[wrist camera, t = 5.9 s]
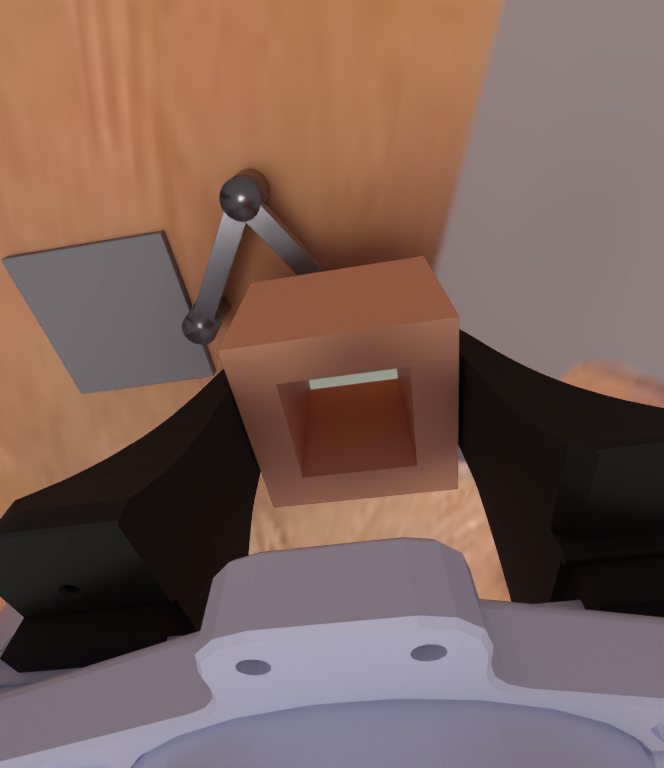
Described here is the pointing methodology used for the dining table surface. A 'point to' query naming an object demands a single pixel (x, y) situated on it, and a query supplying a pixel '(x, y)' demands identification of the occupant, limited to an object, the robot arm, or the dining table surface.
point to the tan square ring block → (355, 401)
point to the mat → (113, 311)
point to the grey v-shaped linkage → (240, 208)
